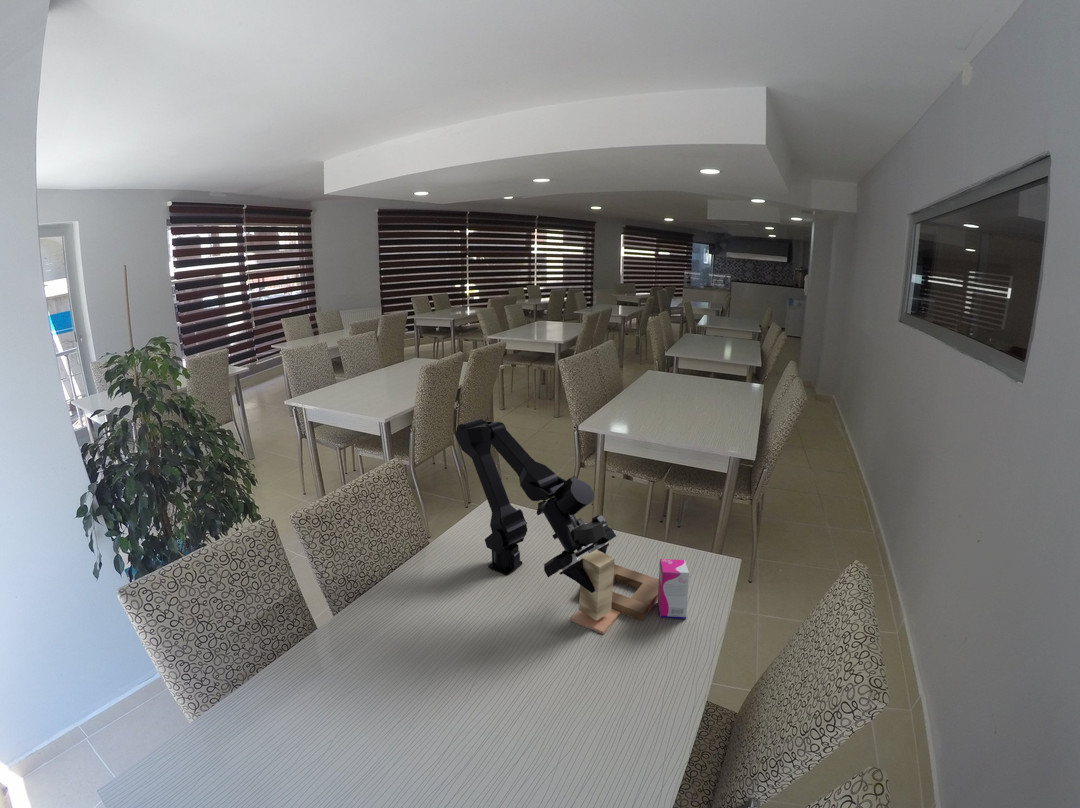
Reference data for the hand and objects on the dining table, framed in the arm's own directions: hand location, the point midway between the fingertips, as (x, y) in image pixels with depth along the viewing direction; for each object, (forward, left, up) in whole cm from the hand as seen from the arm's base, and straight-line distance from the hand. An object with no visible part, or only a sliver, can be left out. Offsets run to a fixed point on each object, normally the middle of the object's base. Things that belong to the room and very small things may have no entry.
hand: (601, 586), depth 122 cm
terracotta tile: (-1, 0, -8) cm, 9 cm away
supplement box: (+12, +12, -9) cm, 19 cm away
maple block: (-1, 0, -7) cm, 7 cm away
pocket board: (0, +12, -8) cm, 15 cm away
